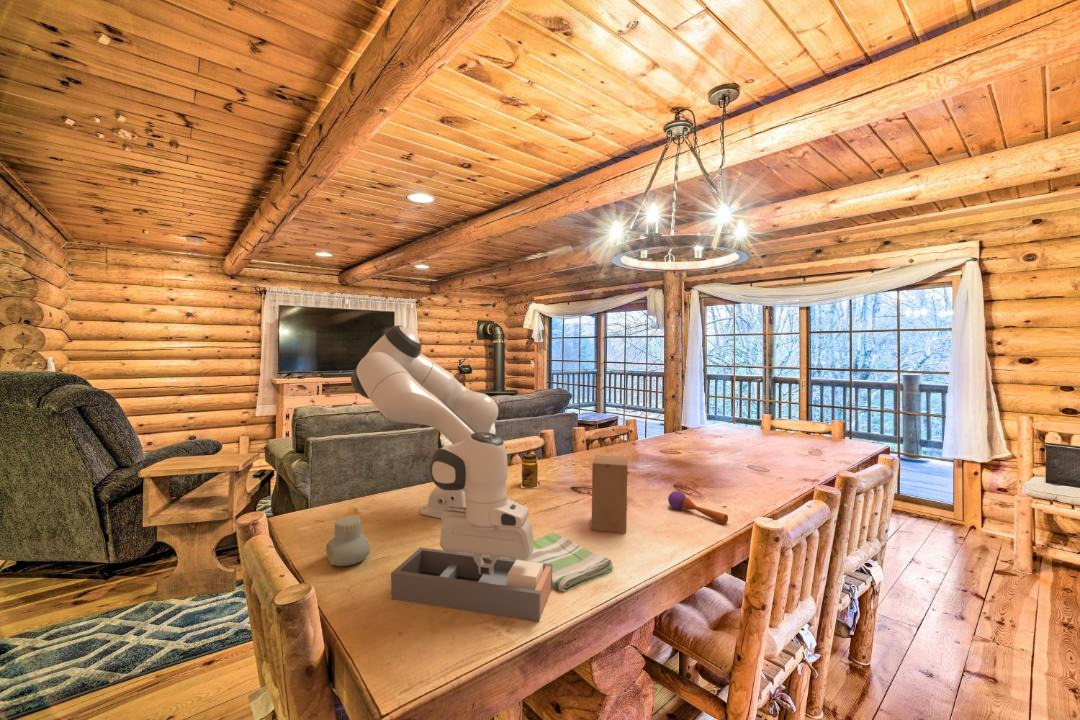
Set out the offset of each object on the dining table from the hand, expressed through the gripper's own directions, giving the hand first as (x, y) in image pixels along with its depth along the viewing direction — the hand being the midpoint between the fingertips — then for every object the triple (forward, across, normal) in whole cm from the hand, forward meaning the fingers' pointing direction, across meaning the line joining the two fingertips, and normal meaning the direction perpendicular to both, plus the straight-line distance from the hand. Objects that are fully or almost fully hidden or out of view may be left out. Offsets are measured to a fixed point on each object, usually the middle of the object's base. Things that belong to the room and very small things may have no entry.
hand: (486, 573), depth 96 cm
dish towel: (+6, +12, +18) cm, 23 cm away
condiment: (+5, -10, +77) cm, 78 cm away
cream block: (+2, +9, 0) cm, 9 cm away
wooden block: (+5, +23, +45) cm, 51 cm away
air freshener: (+5, -38, +6) cm, 39 cm away
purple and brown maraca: (+5, +50, +61) cm, 79 cm away
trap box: (+5, -3, 0) cm, 5 cm away
